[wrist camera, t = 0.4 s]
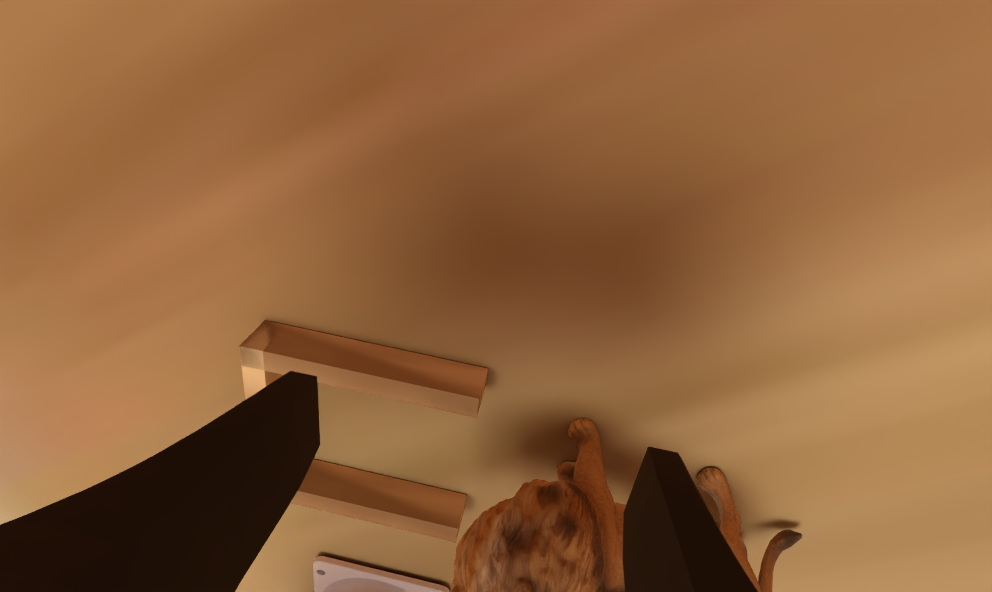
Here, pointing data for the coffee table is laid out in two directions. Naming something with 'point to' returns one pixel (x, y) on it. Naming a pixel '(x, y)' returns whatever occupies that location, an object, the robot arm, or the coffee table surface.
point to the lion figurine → (577, 532)
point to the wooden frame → (378, 375)
